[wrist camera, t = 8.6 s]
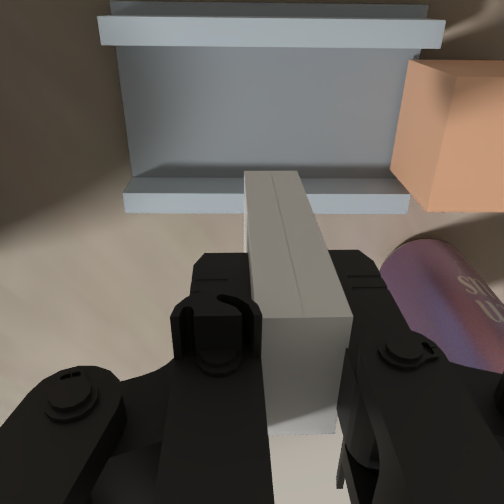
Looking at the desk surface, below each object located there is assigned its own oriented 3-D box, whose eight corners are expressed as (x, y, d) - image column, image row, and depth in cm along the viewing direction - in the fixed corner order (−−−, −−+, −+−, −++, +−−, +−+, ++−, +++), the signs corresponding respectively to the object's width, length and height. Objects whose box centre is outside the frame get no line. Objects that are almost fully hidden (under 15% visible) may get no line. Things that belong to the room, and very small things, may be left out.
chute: (139, 198, 28) (126, 222, 25) (114, 0, 23) (94, 0, 20) (387, 199, 29) (404, 223, 25) (422, 4, 23) (449, 5, 20)
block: (389, 169, 26) (426, 212, 21) (408, 59, 23) (457, 76, 18) (490, 170, 26) (551, 212, 21) (522, 60, 23) (602, 78, 18)
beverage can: (358, 288, 32) (438, 486, 19) (406, 221, 29) (536, 397, 16) (426, 315, 33) (543, 517, 20) (477, 253, 31) (649, 439, 18)
